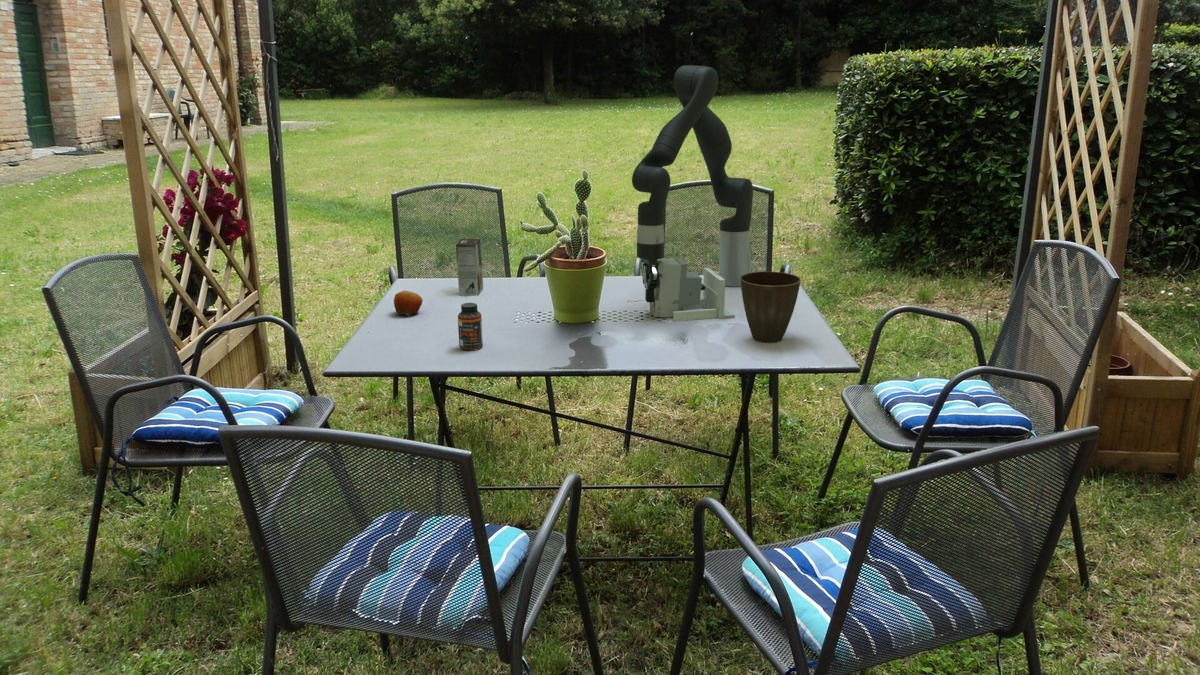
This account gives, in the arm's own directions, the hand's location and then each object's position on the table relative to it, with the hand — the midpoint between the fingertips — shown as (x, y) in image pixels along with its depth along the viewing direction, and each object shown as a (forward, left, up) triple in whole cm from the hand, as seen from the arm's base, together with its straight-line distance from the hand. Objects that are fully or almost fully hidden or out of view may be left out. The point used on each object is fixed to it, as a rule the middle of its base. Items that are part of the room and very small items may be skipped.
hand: (649, 301), depth 258 cm
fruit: (+67, -19, -5) cm, 69 cm away
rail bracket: (-14, 0, -4) cm, 15 cm away
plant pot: (-24, +28, -4) cm, 37 cm away
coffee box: (+48, -40, -4) cm, 62 cm away
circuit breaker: (-8, -1, -4) cm, 9 cm away
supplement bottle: (+51, +17, -4) cm, 54 cm away
